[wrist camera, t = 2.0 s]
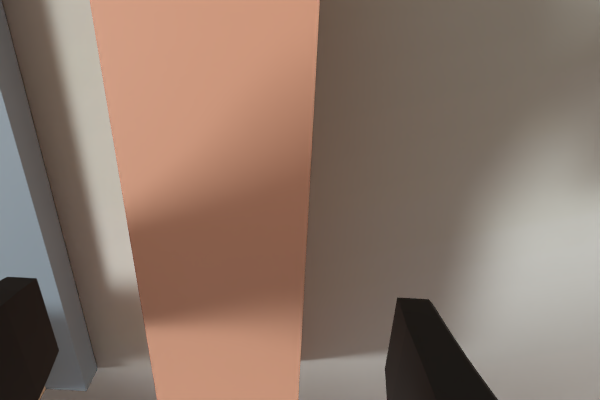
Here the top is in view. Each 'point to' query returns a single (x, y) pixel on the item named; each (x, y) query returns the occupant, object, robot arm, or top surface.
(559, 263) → the top surface
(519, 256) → the top surface
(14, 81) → the stand
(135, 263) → the terracotta bar
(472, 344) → the top surface
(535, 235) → the top surface
